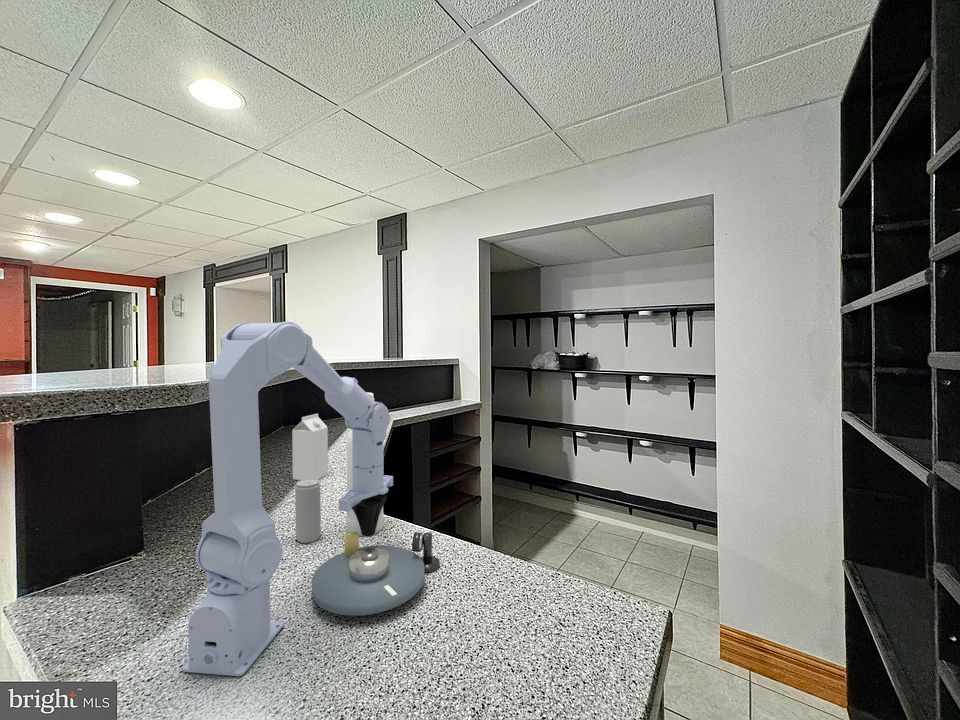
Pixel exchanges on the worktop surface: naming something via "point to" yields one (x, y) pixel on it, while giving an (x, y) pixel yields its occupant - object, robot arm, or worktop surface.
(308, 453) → the milk carton
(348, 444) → the bottle
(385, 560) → the cover
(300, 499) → the beverage can
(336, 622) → the worktop surface
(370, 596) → the turntable
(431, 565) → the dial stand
